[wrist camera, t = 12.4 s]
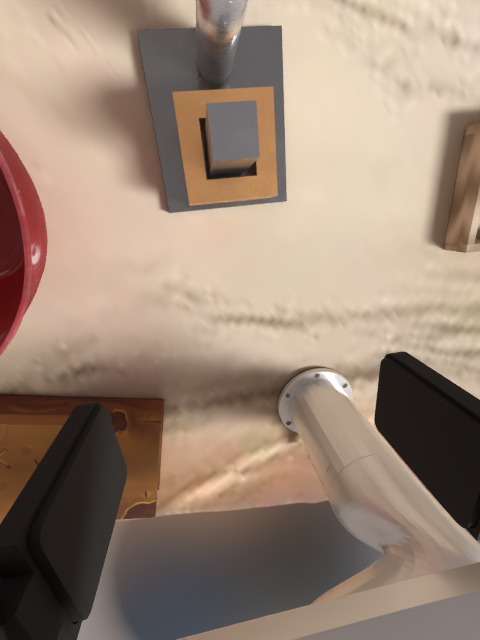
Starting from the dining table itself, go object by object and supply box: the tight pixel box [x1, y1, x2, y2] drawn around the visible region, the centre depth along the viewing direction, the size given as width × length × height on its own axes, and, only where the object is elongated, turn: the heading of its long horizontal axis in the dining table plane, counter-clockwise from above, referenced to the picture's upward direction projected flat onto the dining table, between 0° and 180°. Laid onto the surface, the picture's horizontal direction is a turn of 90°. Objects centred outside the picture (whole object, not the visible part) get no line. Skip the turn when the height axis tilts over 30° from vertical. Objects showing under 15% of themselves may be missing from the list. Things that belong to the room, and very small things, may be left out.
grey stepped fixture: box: [137, 0, 287, 213], centre depth 22 cm, size 25×14×13 cm, turn 5°
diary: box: [0, 395, 164, 524], centre depth 40 cm, size 23×19×6 cm
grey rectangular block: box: [203, 100, 260, 179], centre depth 25 cm, size 4×4×11 cm
